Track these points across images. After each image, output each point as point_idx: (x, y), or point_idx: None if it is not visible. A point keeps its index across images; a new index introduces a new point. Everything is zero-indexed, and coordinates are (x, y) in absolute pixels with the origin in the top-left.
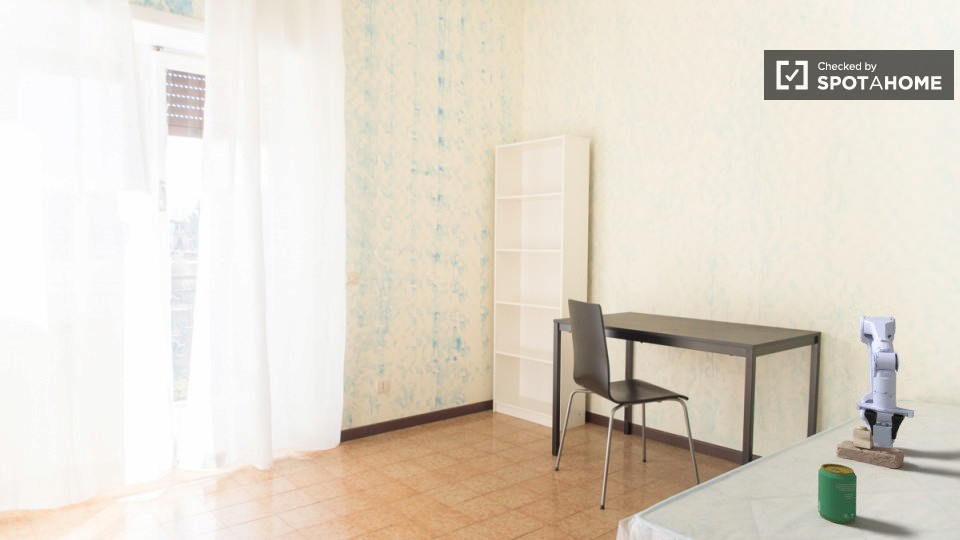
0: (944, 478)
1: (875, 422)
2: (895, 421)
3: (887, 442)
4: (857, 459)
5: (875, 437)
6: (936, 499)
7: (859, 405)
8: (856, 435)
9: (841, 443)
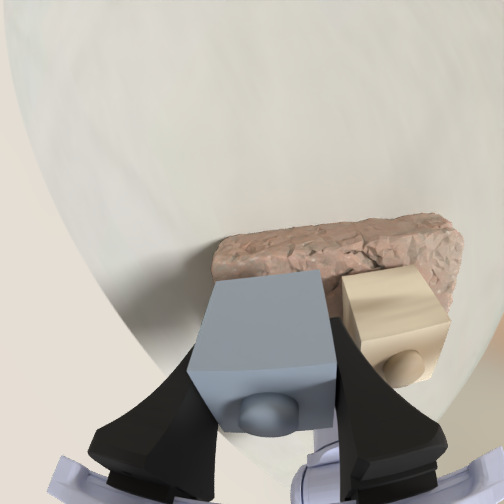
0: (103, 270)
1: (339, 418)
2: (136, 429)
3: (230, 287)
4: (372, 221)
5: (307, 291)
6: (32, 61)
7: (489, 491)
8: (422, 303)
9: (455, 269)
